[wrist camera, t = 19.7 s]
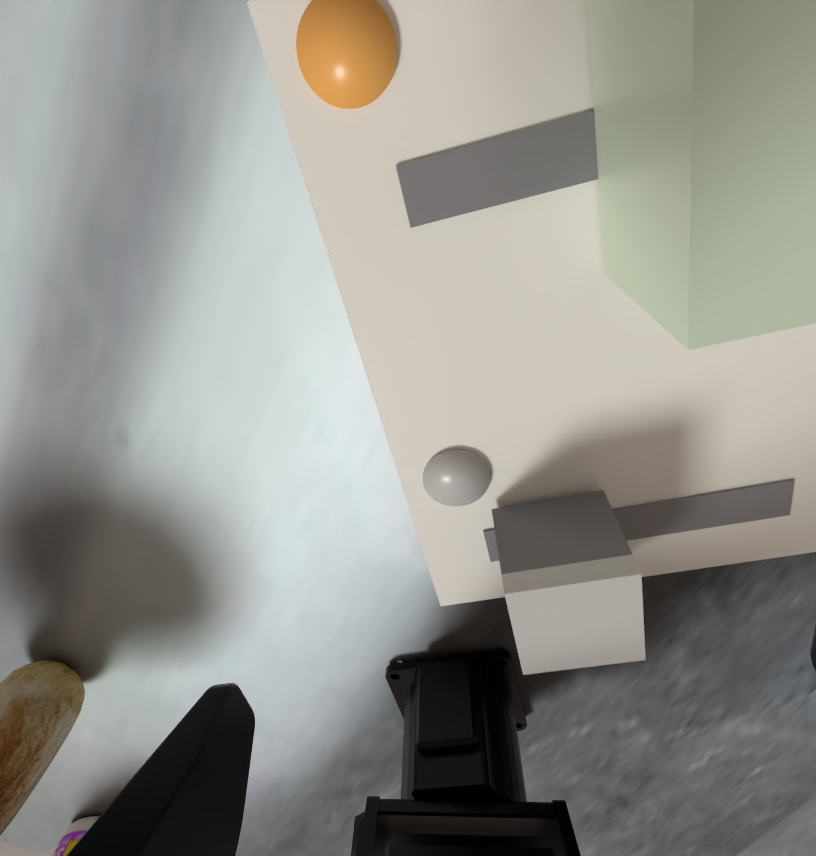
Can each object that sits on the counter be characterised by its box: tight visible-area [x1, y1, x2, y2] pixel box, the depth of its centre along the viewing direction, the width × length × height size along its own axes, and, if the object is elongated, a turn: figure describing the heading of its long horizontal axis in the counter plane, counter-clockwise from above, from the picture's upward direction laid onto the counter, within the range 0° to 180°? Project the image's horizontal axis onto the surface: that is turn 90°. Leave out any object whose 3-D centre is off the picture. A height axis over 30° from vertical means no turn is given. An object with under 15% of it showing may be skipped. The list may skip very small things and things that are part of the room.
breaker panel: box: [247, 0, 816, 606], centre depth 17 cm, size 21×15×2 cm
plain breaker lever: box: [492, 490, 646, 675], centre depth 19 cm, size 4×4×4 cm
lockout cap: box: [587, 0, 816, 350], centre depth 11 cm, size 7×7×6 cm
